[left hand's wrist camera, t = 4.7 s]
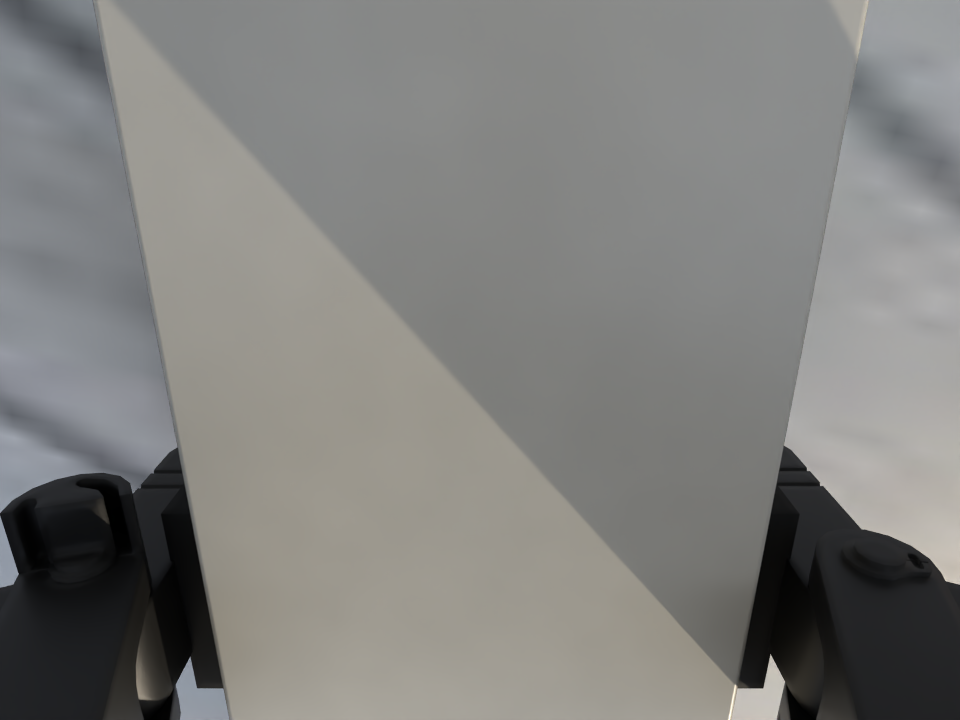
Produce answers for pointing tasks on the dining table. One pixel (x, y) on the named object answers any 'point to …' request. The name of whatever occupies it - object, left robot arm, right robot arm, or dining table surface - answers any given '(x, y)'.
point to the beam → (480, 334)
